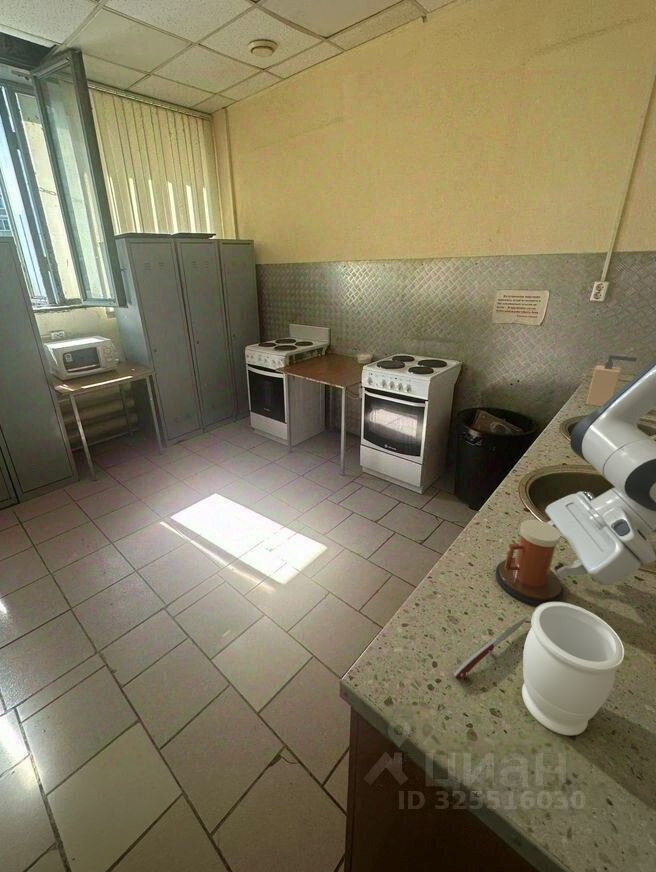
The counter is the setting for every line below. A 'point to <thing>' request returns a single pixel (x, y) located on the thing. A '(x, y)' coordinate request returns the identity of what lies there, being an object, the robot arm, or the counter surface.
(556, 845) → the counter surface
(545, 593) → the coffee mug with lid
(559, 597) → the base
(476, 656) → the knife
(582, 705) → the jar
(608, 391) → the soap dispenser
